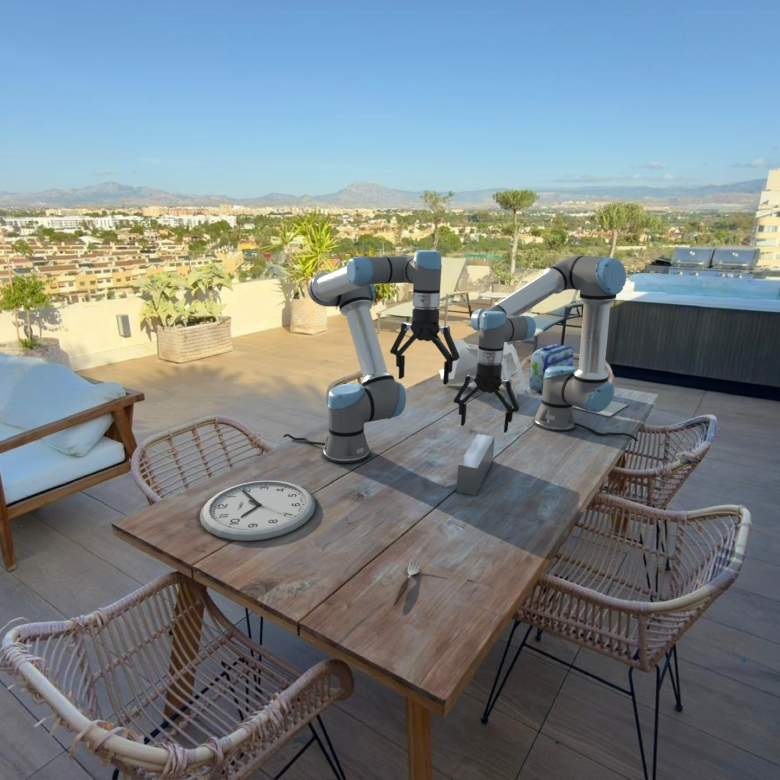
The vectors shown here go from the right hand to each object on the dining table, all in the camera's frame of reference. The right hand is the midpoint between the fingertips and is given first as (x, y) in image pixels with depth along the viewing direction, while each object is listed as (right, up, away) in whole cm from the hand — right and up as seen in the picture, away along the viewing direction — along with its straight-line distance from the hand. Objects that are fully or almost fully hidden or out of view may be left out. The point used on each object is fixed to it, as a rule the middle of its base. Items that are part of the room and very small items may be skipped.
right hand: (484, 427), depth 165 cm
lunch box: (+46, +12, +85) cm, 97 cm away
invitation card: (+62, +5, +61) cm, 87 cm away
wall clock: (-65, -20, -25) cm, 72 cm away
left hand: (-20, +15, -13) cm, 28 cm away
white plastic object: (+12, +11, +78) cm, 80 cm away
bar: (-3, -15, -4) cm, 15 cm away
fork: (-26, -30, -53) cm, 66 cm away
